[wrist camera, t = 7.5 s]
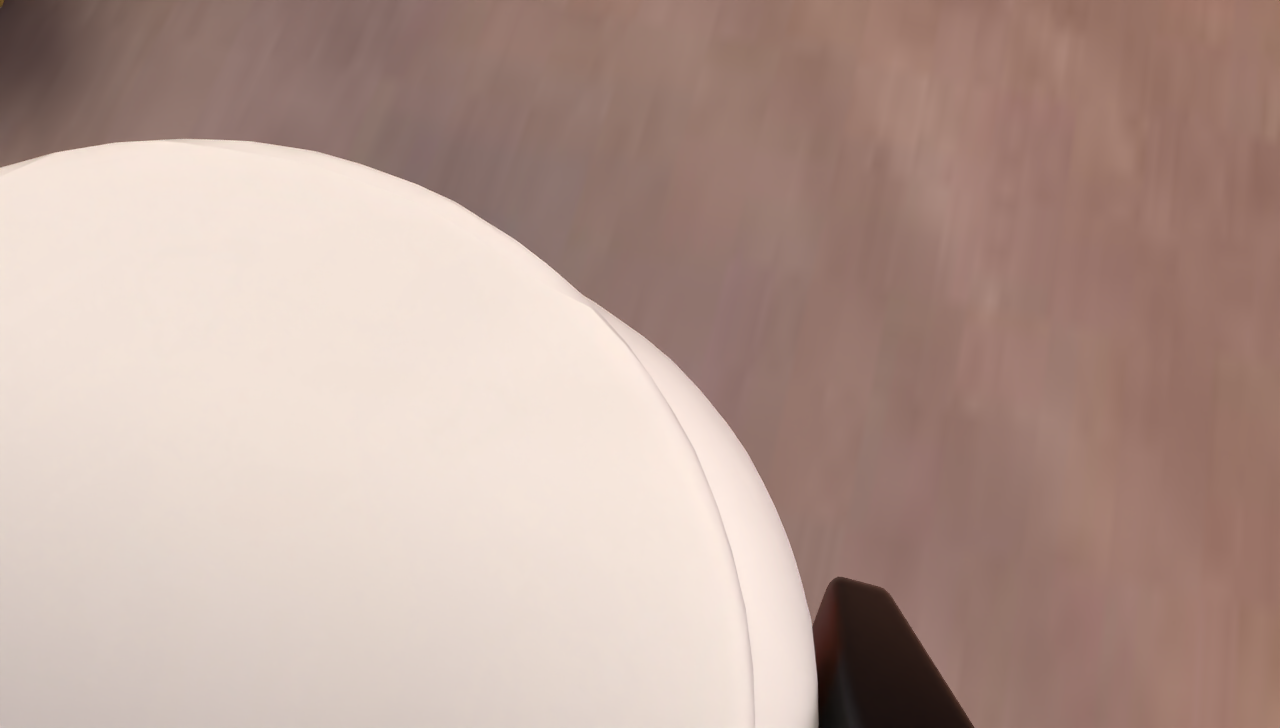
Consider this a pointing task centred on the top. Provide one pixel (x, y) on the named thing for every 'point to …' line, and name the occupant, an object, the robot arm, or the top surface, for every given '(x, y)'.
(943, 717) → the robot arm
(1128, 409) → the top surface
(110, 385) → the pill bottle
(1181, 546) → the top surface
